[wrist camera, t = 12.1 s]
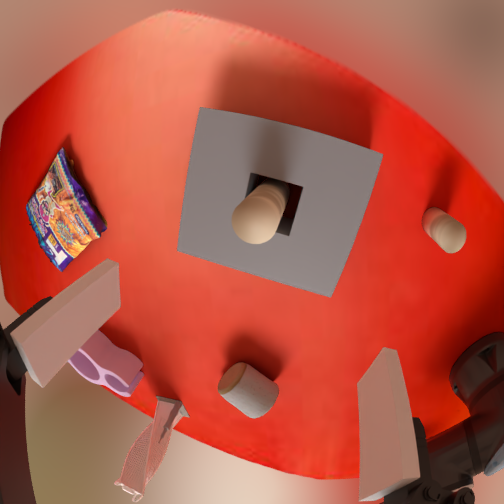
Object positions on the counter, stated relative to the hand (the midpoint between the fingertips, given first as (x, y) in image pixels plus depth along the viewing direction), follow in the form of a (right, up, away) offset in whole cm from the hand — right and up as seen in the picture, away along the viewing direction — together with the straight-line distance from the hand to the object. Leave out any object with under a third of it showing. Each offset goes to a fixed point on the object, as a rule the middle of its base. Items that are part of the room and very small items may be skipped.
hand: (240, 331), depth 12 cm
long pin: (+3, +11, +20) cm, 23 cm away
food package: (-35, +11, +30) cm, 47 cm away
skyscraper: (-19, -34, +45) cm, 60 cm away
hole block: (+4, +11, +20) cm, 23 cm away
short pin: (+23, +7, +17) cm, 30 cm away
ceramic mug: (0, -19, +34) cm, 39 cm away
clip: (-32, -19, +41) cm, 56 cm away
